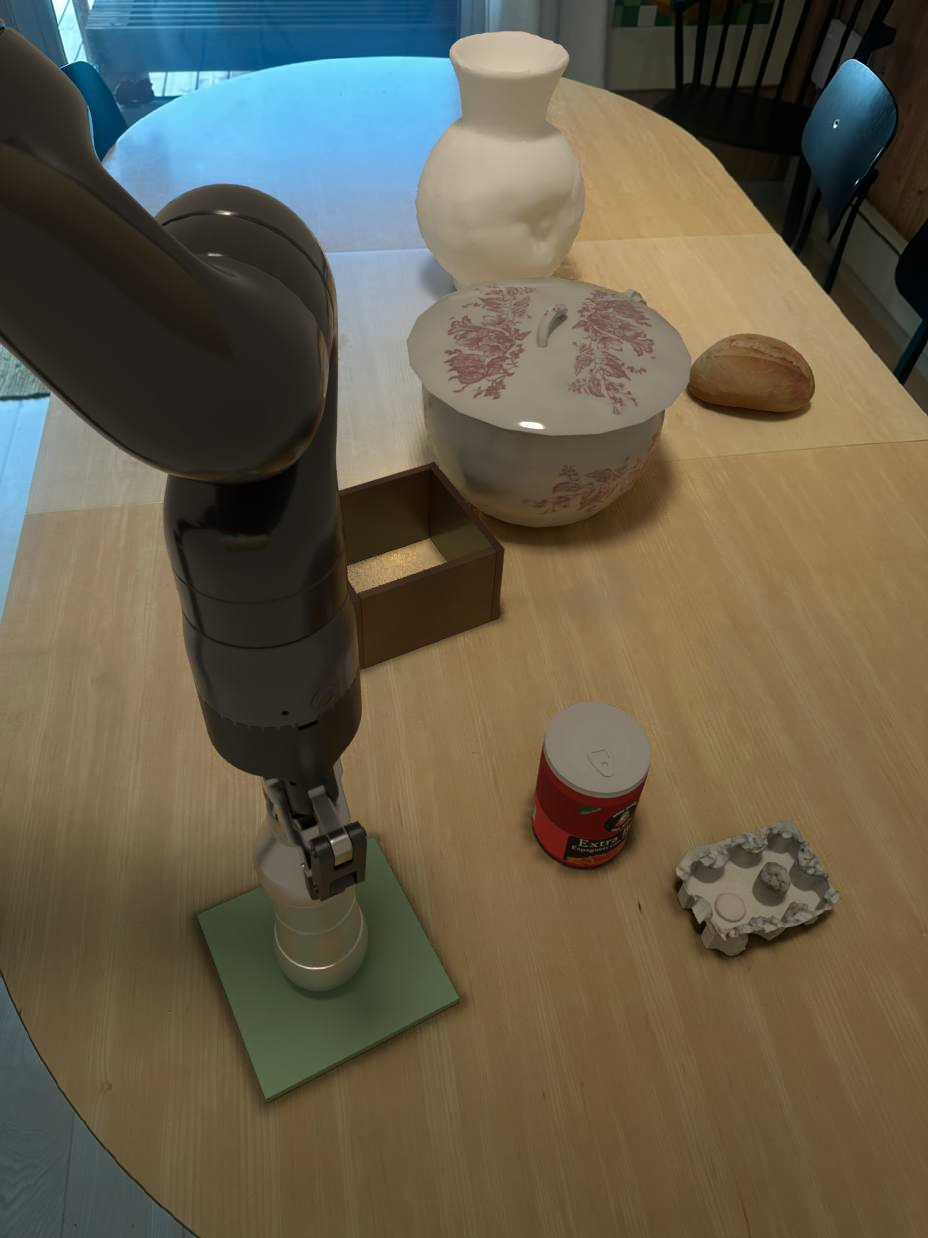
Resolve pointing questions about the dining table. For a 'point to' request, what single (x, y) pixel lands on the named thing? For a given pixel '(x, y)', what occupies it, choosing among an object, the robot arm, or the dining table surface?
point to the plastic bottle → (307, 915)
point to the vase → (502, 166)
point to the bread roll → (752, 374)
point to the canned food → (589, 782)
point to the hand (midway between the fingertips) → (305, 842)
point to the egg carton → (754, 886)
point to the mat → (334, 1019)
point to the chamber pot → (545, 393)
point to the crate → (431, 596)
